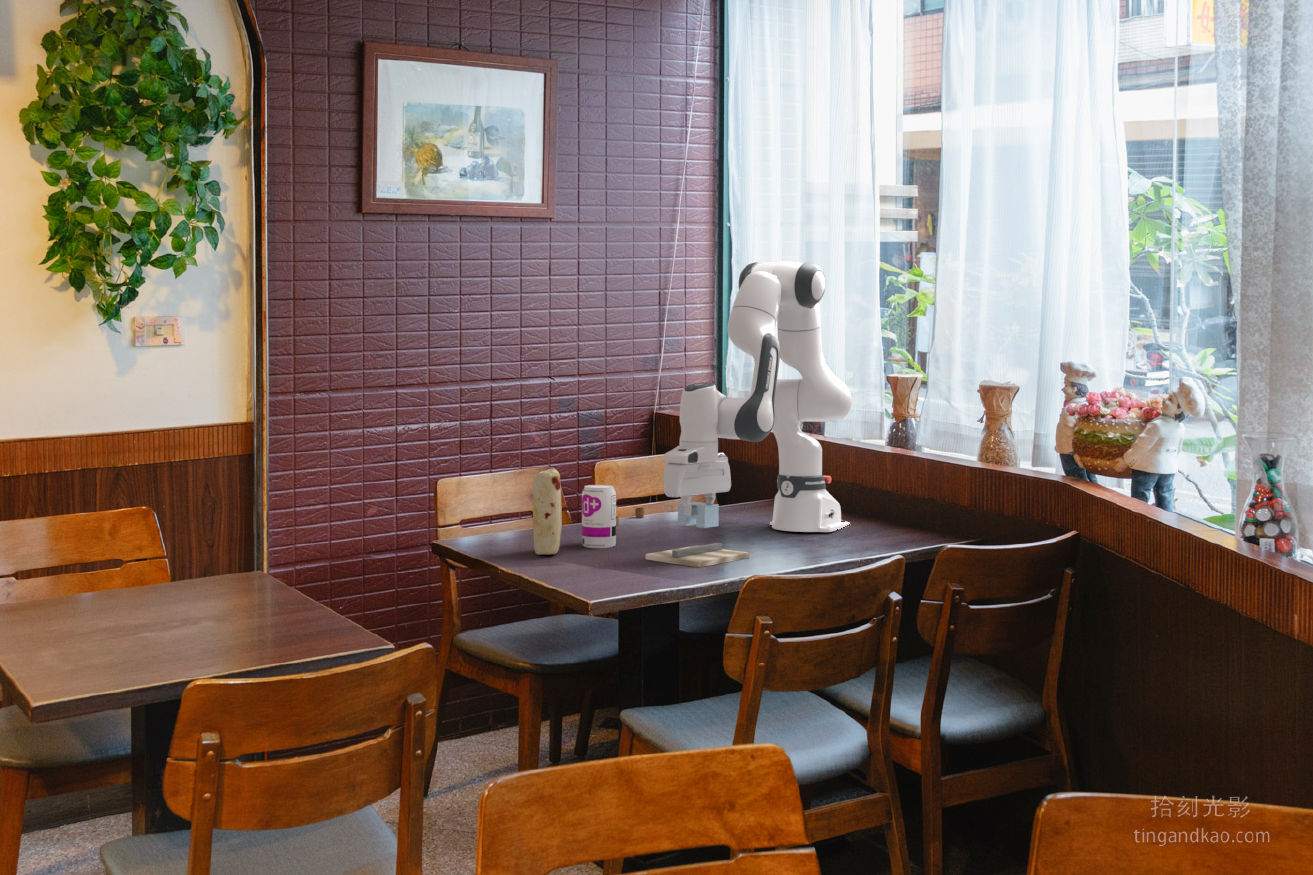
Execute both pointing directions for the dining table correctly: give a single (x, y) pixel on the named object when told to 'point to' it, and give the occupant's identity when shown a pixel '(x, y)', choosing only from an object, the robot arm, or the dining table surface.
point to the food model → (547, 512)
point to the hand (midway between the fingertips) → (698, 514)
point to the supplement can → (598, 516)
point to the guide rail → (696, 550)
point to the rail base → (698, 557)
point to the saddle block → (700, 515)
